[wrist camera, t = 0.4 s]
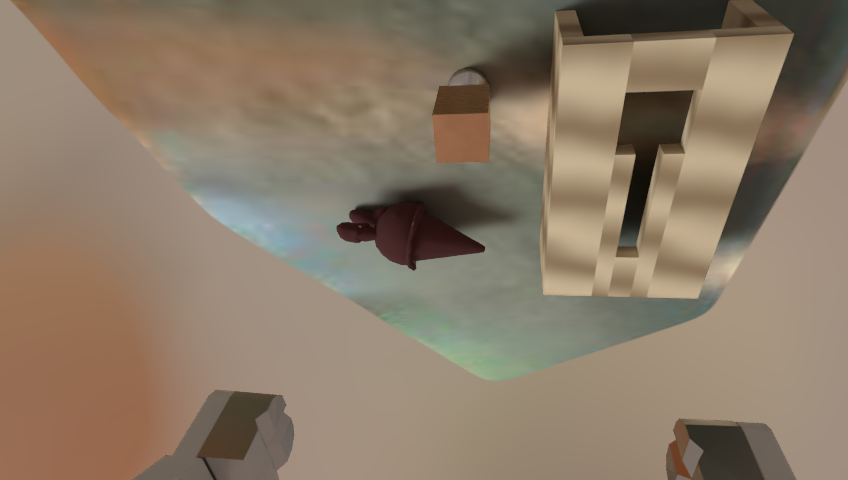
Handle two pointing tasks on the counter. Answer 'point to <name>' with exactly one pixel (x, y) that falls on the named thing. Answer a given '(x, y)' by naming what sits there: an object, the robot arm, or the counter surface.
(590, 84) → the keyhole plate
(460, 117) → the wooden block
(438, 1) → the counter surface
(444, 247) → the icecream
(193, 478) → the robot arm
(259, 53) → the counter surface
